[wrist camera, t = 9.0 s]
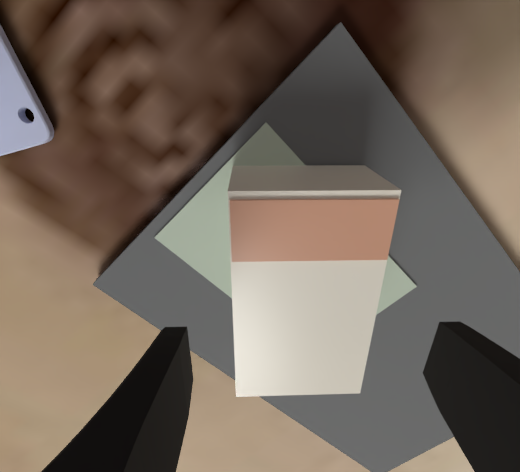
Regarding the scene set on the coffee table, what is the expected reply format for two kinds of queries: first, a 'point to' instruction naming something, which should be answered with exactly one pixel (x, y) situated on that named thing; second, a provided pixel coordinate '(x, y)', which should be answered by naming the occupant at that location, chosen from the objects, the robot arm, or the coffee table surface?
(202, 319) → the mat
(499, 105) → the coffee table surface
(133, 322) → the coffee table surface
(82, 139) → the coffee table surface
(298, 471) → the coffee table surface
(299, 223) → the card box
